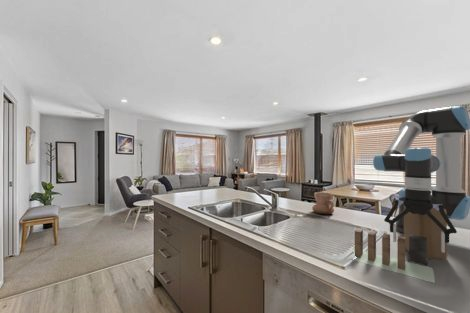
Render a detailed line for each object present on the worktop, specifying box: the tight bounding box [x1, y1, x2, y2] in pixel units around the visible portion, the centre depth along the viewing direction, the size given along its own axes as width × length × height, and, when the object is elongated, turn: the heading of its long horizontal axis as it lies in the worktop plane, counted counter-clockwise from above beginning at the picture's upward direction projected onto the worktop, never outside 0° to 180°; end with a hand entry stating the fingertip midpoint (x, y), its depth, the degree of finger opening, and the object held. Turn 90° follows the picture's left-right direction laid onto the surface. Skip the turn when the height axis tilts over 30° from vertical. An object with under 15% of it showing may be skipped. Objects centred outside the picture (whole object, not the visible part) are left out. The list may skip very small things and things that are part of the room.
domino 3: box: [396, 235, 406, 270], centre depth 76 cm, size 5×2×10 cm, turn 139°
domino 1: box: [367, 230, 377, 262], centre depth 82 cm, size 5×2×10 cm, turn 139°
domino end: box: [354, 227, 364, 258], centre depth 85 cm, size 5×2×10 cm, turn 139°
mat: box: [347, 247, 436, 284], centre depth 79 cm, size 12×26×1 cm, turn 49°
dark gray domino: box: [408, 235, 428, 267], centre depth 79 cm, size 5×2×10 cm, turn 49°
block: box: [403, 206, 448, 260], centre depth 87 cm, size 10×10×20 cm
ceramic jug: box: [312, 191, 335, 215], centre depth 152 cm, size 18×14×14 cm
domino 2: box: [381, 232, 391, 266], centre depth 79 cm, size 5×2×10 cm, turn 139°
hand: (417, 246), depth 79 cm, fingers open, 13 cm apart
